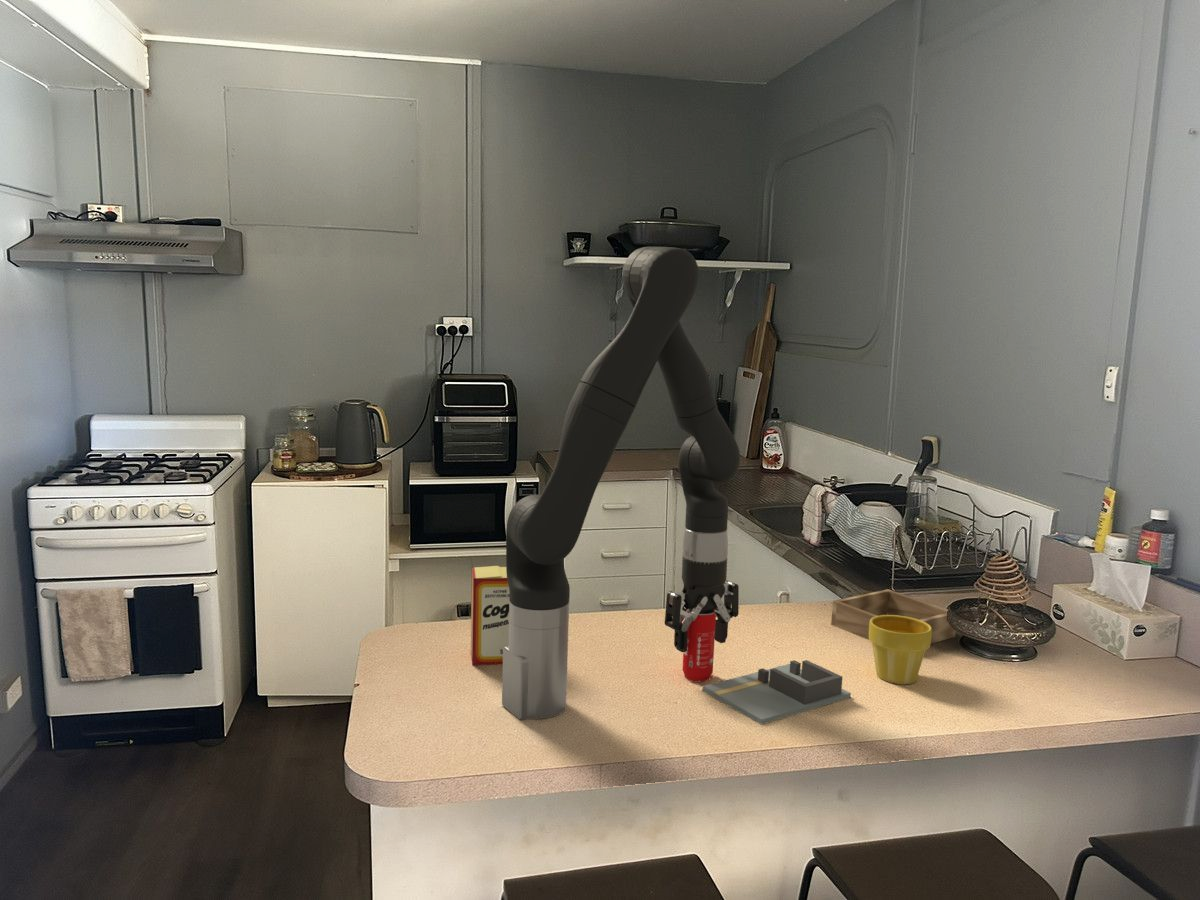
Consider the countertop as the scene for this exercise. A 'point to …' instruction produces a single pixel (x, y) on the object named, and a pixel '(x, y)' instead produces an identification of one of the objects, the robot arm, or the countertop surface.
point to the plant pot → (899, 646)
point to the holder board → (780, 691)
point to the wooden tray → (862, 608)
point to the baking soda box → (489, 615)
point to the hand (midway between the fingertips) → (701, 646)
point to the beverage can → (700, 648)
